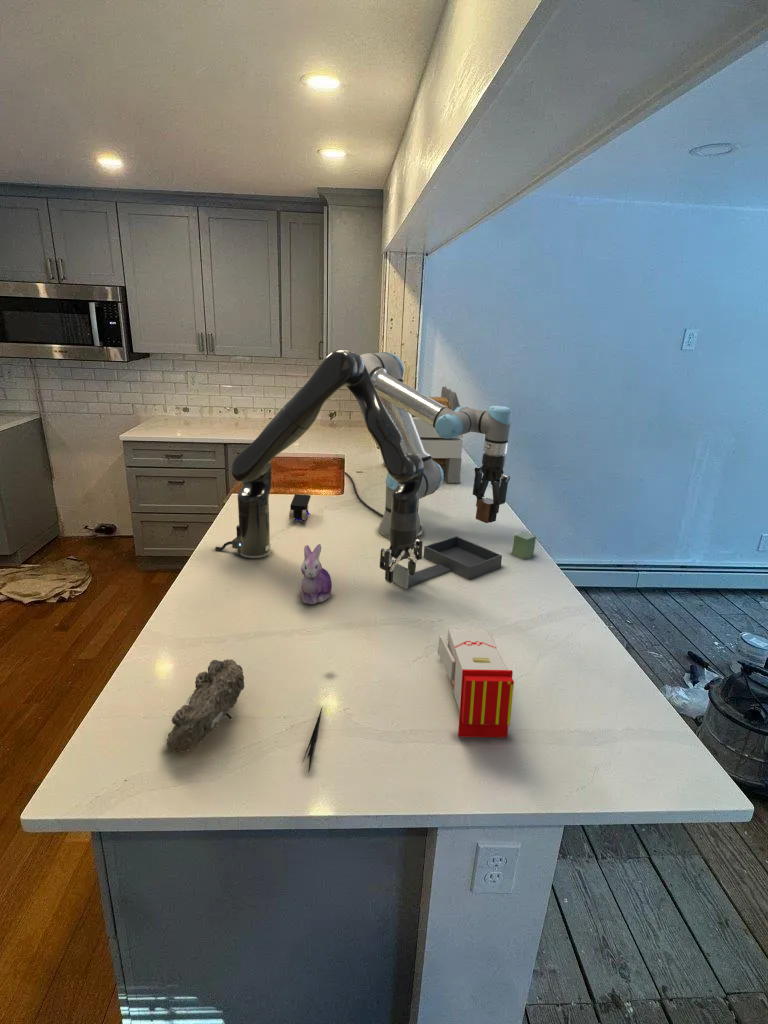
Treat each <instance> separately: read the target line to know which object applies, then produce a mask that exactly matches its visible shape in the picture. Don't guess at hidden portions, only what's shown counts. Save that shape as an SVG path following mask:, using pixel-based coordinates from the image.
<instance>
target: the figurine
mask: <svg viewBox="0 0 768 1024" xmlns="http://www.w3.org/2000/svg"><path fill="white" fill-rule="evenodd" d="M321 551H322V544H320V543H319V544H317V545H316V546H315V548H314V549H313V551H312V550H311V547H310V546H309V545H308V544H306V545H305V546H304V547H303V555H304V560H303V561H302V564H301V567H300V572H301V574H302V575H303V576H302V578H301V580H300V589H301V602H302V603H304V604H308V605H315V604H317V603H323V602H325V601H327V600H328V599H330V597H331V595H332V588H333V584H332V582H333V581H332V577H331V575H330V573H329V572H328V570H327V569H325V568H324V567H323V565H322V563H321V561H320V555H321Z"/></svg>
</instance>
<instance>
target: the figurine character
mask: <svg viewBox="0 0 768 1024" xmlns="http://www.w3.org/2000/svg"><path fill="white" fill-rule="evenodd" d="M311 496H312V495H311V494H299V493H295V494H294V495H293V498H292V500H291V503H290V505H289V507H290V509H289V512H288V513H289V515H288V516H289V517H288V519H289V520H291V521H292V520H293V521H292V522H293V523H292V524H296V522H297V521H298V522H299V521H301V522H300V524H301V525H302V524H304V521H305V520H307V518H308V517H309V515H310V512H309V502H310V500H311Z"/></svg>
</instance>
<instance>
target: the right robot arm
mask: <svg viewBox="0 0 768 1024" xmlns="http://www.w3.org/2000/svg"><path fill="white" fill-rule="evenodd" d="M359 356H360V357H361V358H362V360H363V361H364V364H365V366H366V368H367V371H368V373H369V375H370V378H371V380H372V383H373V385H374V387H375V389H376V391H377V393H378V396H379V398H380V399H381V401H382V403H383V405H384V407H385V409H386V410H387V412H388V414H389V415H390V417H391V419H392V420H393V422H394V423H395V425H396V427H397V428H398V430H399V432H400V433H401V435H402V437H403V443H402V444H401V447H402V450H403V452H404V454H407V453H415V454H417V455H419V456H420V457H421V459H422V461H423V466H424V472H423V478H422V482H421V486H420V489H419V492H418V501H417V531H416V539H418V538H420V537H421V536H422V535H423V525H422V524H421V518H420V515H419V507H420V506H419V505H420V500H421V499H423V498H426V497H427V496H430V495H433V494H434V493H436V492H437V491H438V490H439V489H440V488H441V487H442V486H443V483H444V479H445V478H444V474H443V470H442V468H441V466H440V465H439V464H438V463H436V462H434V461H433V460H432V457H431V455H430V454H429V453H426V452H425V450H424V448H423V445H422V442H421V440H420V437H419V434H418V432H417V429H416V426H415V423H414V421H413V418H412V415H413V416H415V417H417V418H418V419H420V420H422V421H424V422H425V423H427V424H429V425H430V426H432V427H434V428H436V431H437V433H438V434H439V436H440V437H442V438H445V439H449V438H455V437H457V436H460V435H462V434H463V435H465V434H469V433H475V434H476V433H477V434H483V435H484V444H483V454H482V458H481V459H482V460H481V464H482V465H481V466H477V467H474V479H473V488H472V495H473V496H475V497H476V502H475V507H476V508H477V503H478V500H480V499H484V498H486V497H485V493H486V491H487V488H488V486H489V483H490V485H491V488H492V489H491V490H492V491H491V492H492V500H493V503H492V504H491V510H490V517H489V522H490V523H494V522H496V521H497V516H496V514H497V515H498V514H499V512H500V505H504V504H506V500H507V494H508V493H507V492H508V486H509V485H508V484H509V481H510V480H511V476H510V475H506V474H505V473H504V467H505V464H506V459H507V456H506V454H507V451H508V444H509V436H510V430H511V425H512V413H513V411H512V409H511V408H510V407H508V406H503V405H491V406H489V408H488V410H482V409H476V408H472V407H471V408H470V407H468V406H465V407H464V406H460V407H457V408H456V409H455V410H454V411H452V410H450V409H448V408H446V407H445V406H443V405H441V404H440V403H438V402H436V401H434V400H433V399H431V398H429V397H430V396H427V395H425V394H424V393H422V392H420V391H418V390H416V389H415V388H414V387H411V386H409V385H408V384H406V383H405V382H404V380H403V378H404V374H405V366H404V363H403V361H402V360H401V358H400V357H399V356H398V355H396V354H395V353H393V352H387V351H380V352H373V353H372V352H371V353H363V354H359ZM411 414H412V415H411ZM344 475H346V476H347V477H348V479H349V480H350V482H351V484H352V487H353V490H354V493H355V496H356V497H357V500H359V501H360V503H362V504H363V505H364V506H365V507H366V508H367V509H369V510H370V511H371V512H374V513H375V514H376V515H378V516H380V517H382V519H381V522H379V527H378V533H379V534H380V535H381V536H382V537H385V538H387V539H389V530H390V515H391V507H392V494H393V491H394V490H395V489H396V488H397V486H398V482H396V481H395V480H394V479H393V478H392V477H391V476H390V475H389V473H388V472H387V473H386V479H385V504H384V505H385V507H384V508H385V509H384V513H383V514H382V513H381V512H379V511H378V510H376V509H374V508H373V507H371V506H370V505H368V504H367V503H366V502H365V501H363V499H362V498H361V497H360V495H359V493H358V491H357V488H356V485H355V482H354V480H353V478H352V476H351V475H350V474H348V473H347V472H346V471H344ZM490 523H489V524H490Z"/></svg>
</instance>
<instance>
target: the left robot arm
mask: <svg viewBox="0 0 768 1024" xmlns="http://www.w3.org/2000/svg"><path fill="white" fill-rule="evenodd" d="M344 386H345V387H346V388H347V389H348V390H349V391H350V392H351V394H352V395H353V397H354V398H355V400H356V401H357V403H358V405H359V408H360V410H361V411H360V412H361V414H362V417H363V421H364V423H365V427H366V429H367V430H368V433H369V434H370V436H371V437H372V439H373V441H374V442H375V444H376V447H378V449H379V451H380V454H381V457H382V460H383V463H385V466H384V467H385V468H386V471H387V473H389V475H390V476H391V477H392V478H393V479H394V480H395V481H396V482H398V486H397V488H396V489H395V490H394V491H393V494H392V507H391V515H390V530H389V538H388V540H389V543H390V545H389V548H386V549H385V548H381V549H380V554H379V555H380V557H379V569H380V570H383V571H384V580H385V582H387V583H389V584H392V583H393V569H394V567H395V566H396V565H398V564H400V562H401V561H403V560H407V559H408V561H407V569H409V574H410V575H414V574H415V572H416V566H417V563H418V561H422V559H423V541H422V540H421V539H418V538H416V531H417V501H418V492H419V489H420V486H421V482H422V478H423V472H424V466H423V461H422V459H421V457H420V456H419V455H417V454H415V453H407V454H404V452H403V450H402V447H401V444H402V443H403V437H402V435H401V433H400V432H399V430H398V428H397V427H396V425H395V423H394V422H393V420H392V419H391V417H390V415H389V414H388V412H387V410H386V409H385V407H384V405H383V403H382V401H381V399H380V398H379V396H378V393H377V391H376V389H375V387H374V385H373V383H372V380H371V378H370V375H369V373H368V371H367V368H366V366H365V364H364V361H363V360H362V358H361V357H360V354H359V353H357V352H355V351H352V350H346V349H345V350H344V349H336V350H333V351H331V352H329V354H327V355H326V357H324V359H323V361H322V362H321V363H320V364H319V366H318V367H317V368H316V370H315V371H314V373H312V375H311V377H310V378H308V380H307V381H306V383H305V384H303V386H302V387H301V388H300V389H299V390H298V391H297V392H296V393H295V394H294V395H293V396H292V397H291V398H290V400H289V401H287V402H286V403H285V404H284V405H283V407H282V408H281V409H280V410H279V411H278V412H277V413H276V415H274V417H273V418H272V419H271V420H270V421H269V423H268V424H267V425H266V426H265V427H264V428H263V430H262V431H261V432H260V434H259V435H258V436H257V437H256V438H255V439H254V440H253V441H252V442H251V443H250V444H249V445H247V446H246V448H244V449H242V451H240V452H239V453H238V454H237V455H236V456H235V457H234V458H233V460H232V462H231V464H230V465H231V466H230V471H231V475H232V477H233V479H234V480H235V481H237V482H239V483H241V484H242V486H241V488H240V490H239V491H238V492H237V511H238V513H237V514H238V524H237V525H236V526H235V527H236V529H235V530H236V537H235V538H233V539H232V540H230V541H227V542H224V543H223V545H222V546H221V547H220V546H215V550H216V551H223V550H225V548H226V547H227V546H229V545H231V547H232V549H236V550H237V555H239V556H241V557H243V558H246V559H251V560H253V559H255V560H256V559H262V558H265V557H268V556H269V555H270V554H271V547H272V546H271V545H272V544H271V534H270V533H271V532H270V531H271V529H270V498H269V497H270V494H271V490H272V463H271V461H272V460H273V459H274V458H275V457H276V456H277V455H279V454H280V453H282V452H284V451H285V450H286V449H288V448H290V446H292V445H293V444H294V443H296V442H297V441H298V440H299V439H300V438H301V437H302V436H303V435H304V434H305V433H306V432H307V431H308V430H309V429H310V428H311V427H312V426H313V424H314V423H315V422H316V420H317V419H318V416H319V414H320V412H321V410H322V407H323V405H325V403H326V401H328V399H329V398H330V397H331V396H333V394H335V393H336V392H337V391H338V390H339V389H340V388H343V387H344ZM393 559H394V560H393Z"/></svg>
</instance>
